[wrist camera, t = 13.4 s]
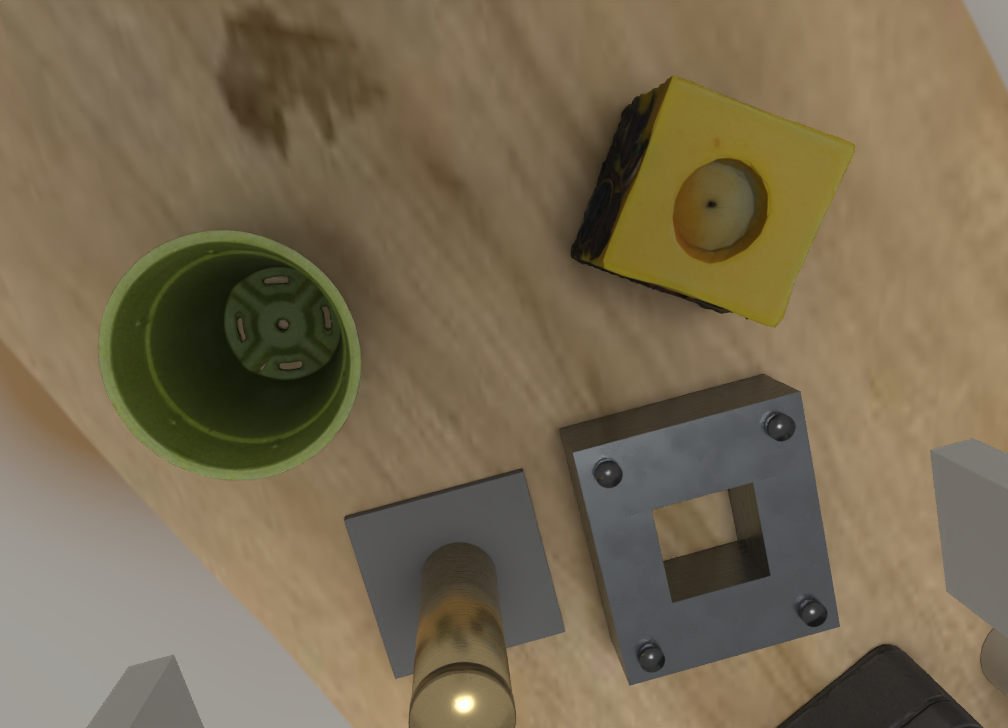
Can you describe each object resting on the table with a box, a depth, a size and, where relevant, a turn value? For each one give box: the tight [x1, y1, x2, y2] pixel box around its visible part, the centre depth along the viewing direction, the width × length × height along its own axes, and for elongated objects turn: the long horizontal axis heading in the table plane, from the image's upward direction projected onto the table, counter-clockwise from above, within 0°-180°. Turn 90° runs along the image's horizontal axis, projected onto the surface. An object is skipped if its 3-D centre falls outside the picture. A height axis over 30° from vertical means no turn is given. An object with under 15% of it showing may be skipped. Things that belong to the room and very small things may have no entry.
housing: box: [560, 374, 840, 686], centre depth 46 cm, size 16×14×6 cm
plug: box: [409, 542, 516, 728], centre depth 41 cm, size 5×5×14 cm
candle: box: [571, 76, 855, 328], centre depth 40 cm, size 10×10×10 cm
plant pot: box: [98, 230, 361, 480], centre depth 38 cm, size 12×12×11 cm
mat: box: [344, 469, 565, 679], centre depth 48 cm, size 12×12×1 cm
